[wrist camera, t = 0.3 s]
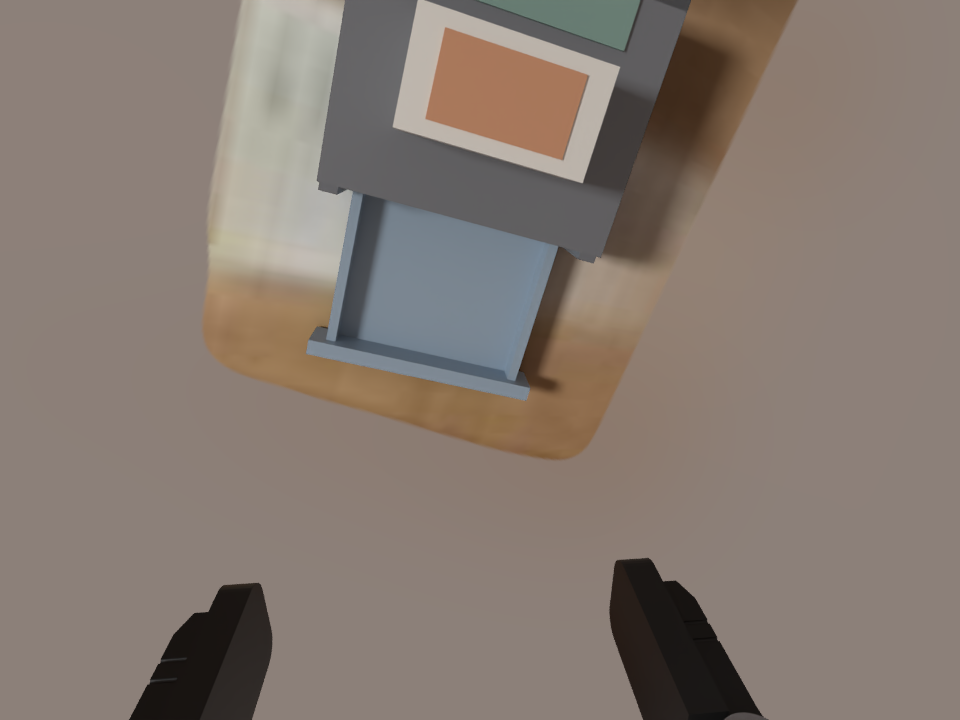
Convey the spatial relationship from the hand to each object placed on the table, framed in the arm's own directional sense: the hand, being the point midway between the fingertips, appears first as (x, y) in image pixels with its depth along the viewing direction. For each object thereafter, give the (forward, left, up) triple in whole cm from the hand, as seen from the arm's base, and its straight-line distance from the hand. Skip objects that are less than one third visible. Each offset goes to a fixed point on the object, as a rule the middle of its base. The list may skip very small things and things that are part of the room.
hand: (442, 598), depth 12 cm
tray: (-2, 0, -27) cm, 27 cm away
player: (-13, 0, -27) cm, 30 cm away
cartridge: (-12, 0, -20) cm, 24 cm away
